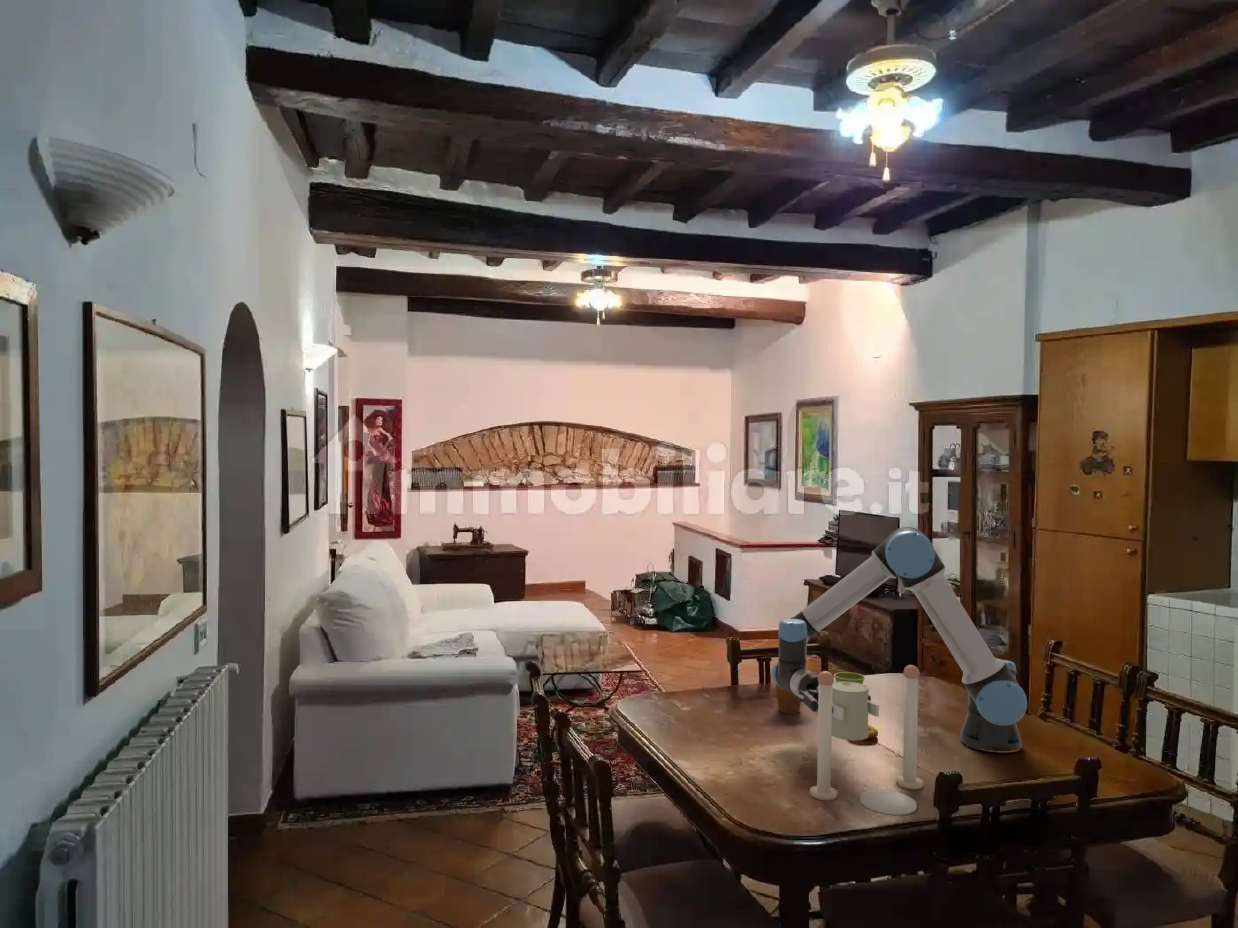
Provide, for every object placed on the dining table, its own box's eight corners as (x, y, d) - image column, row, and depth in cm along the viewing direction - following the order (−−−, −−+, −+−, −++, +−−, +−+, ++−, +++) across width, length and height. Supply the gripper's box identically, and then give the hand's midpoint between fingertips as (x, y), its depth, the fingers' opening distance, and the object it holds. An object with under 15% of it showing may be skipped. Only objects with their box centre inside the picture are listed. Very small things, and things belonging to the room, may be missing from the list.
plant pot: (827, 700, 269) (828, 672, 268) (853, 697, 271) (854, 670, 271) (844, 708, 260) (844, 680, 260) (870, 706, 263) (871, 678, 262)
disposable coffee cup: (805, 716, 252) (806, 675, 252) (772, 713, 254) (773, 673, 253) (804, 706, 261) (805, 667, 261) (773, 704, 263) (774, 665, 263)
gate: (912, 778, 204) (914, 661, 204) (928, 787, 199) (930, 667, 198) (805, 791, 196) (807, 668, 195) (818, 801, 190) (821, 675, 189)
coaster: (915, 796, 193) (915, 794, 193) (917, 818, 182) (917, 815, 182) (860, 789, 197) (861, 787, 197) (859, 810, 186) (859, 807, 185)
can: (861, 727, 209) (861, 679, 209) (874, 740, 200) (874, 689, 200) (824, 728, 209) (824, 679, 209) (835, 740, 200) (835, 689, 200)
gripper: (846, 698, 225) (898, 724, 203) (773, 705, 218) (819, 732, 197) (846, 670, 225) (899, 692, 203) (773, 676, 218) (819, 700, 197)
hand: (859, 712), depth 200 cm, fingers closed on can, 9 cm apart
